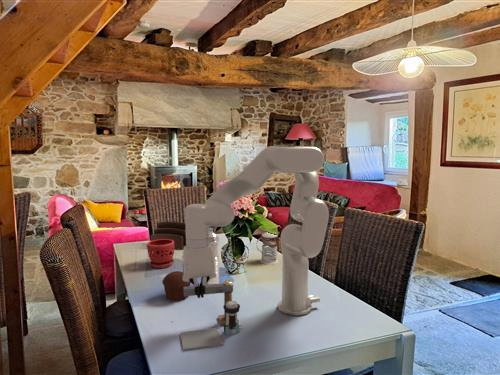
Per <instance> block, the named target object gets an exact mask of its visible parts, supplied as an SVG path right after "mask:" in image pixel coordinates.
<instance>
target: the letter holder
mask: <svg viewBox="0 0 500 375" xmlns="http://www.w3.org/2000/svg"><path fill="white" fill-rule="evenodd" d="M149 238H150V241H153V240H159V239H170V240H173V241H174V250H178V251H179V250H181V251H183V250H184V246H186V224H185V222H181V221H180V222H179V221H158V222H157V223H156V228H154V229H153V234H150V237H149ZM160 245H161V244H160Z"/></svg>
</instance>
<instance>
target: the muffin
mask: <svg viewBox="0 0 500 375" xmlns="http://www.w3.org/2000/svg"><path fill="white" fill-rule="evenodd" d="M183 274H184V273H183V271H178V270H176V271H172V272H169V273H168V274H166V275H165V277H164V278H163V279H162V285H163V287H164V293H165V298H166V301H167V300H168V301H169V302H182V301H185V300H187V299H188V298H189V296H184V287H187V286H191V284H192V283H191V282H186V281H183V279H182V278H183Z"/></svg>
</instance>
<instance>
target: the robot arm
mask: <svg viewBox="0 0 500 375" xmlns="http://www.w3.org/2000/svg"><path fill="white" fill-rule="evenodd" d="M324 163H325V156H324V153H323V151H322V150H321V149H320V148H318V147H316V146H304V145H295V146H277V145H272V146H271V145H270V146H267V147H265V148H264V149H262V150H261V151H260V152H259V153H258V154H257V155H256V156H255V157H254V158H253V159H252V160H251V161H250V162H249V163H248V165H246V167H244V169H243V170H242V171H241V172H240V173H239V174H237V175H236V176H233V177H232V178H231V179H230V180H228V181H227V182H225V183H224V184H222V185H221V186H220V187H219V188H217V190H216V191H214V192H213V193H212V194H211V196H210V197H209V198H208V199H207V200H206V201H205V203H192V204H188V205H187V206H186V207H185V209H184V215H185V216H184V217H185V218H184V219H185V222H184V223H185V224H186V246H184V249H183V250H182V251H183V252H182V272H183V273H184V274H183V278H182V279H183V281H186V282H191V283H190V284H192V286H195V295H194V296H197V299H200V298H202V299H203V298H204V297H205V296H204V294H205V285H206V283H207V282H208V281H209V280H210V279H212V278H215V277H216V274H215V262H214V254H213V249H212V245H211V244H210V243H211V242H213V241H214V237H210V236H209V228H210V227H226V226H228V225H230V224H232V222H233V221H234V219H235V216H236V215H235V210H234V208H233V207H232V206H231V205H232V204H234V203H235V202H236V201H237V200H238V199H240V198H243V197H246V196H250V195H253V194H255V193H257V192H259V191H260V190H261V188H262V187H263V186H264V185H265V184H266V183H267V182H268V181H269V180H270V179H271V177H273V175H275V173H284V174H294V179H295V182H294V188H293V192H292V193H293V194H292V199H291V202H290V203H291V204H290V208H289V213H290V216H291V218H292V219H293V220H295V221H297V222H299V223H302V225H300V224H298V223H297V224H296V223H291V224H288V225H286V226H285V227H284V228H283V229H282V230H281V234H280V248H281V253H282V254H281V256H282V258H281V259H282V264H281V265H282V268H281V270H282V273H281V274H282V276H281V278H282V279H281V300H280V301H279V302H278V303H277V309H278V311H280V312H281V313H283V314H285V315H289V316H303V315H308V314H309V313H310V312H311V311H312V309H313V308H312V304H313V303H320V302H321V300H320V298H321V297H319V296H315V297H314V295H313V294H312V295H309V293H308V292H309V265H310V264H309V259H312V258H314V257H317V256H318V255H319V254H320V252H322V248H323V245H324V241H325V238H326V232H327V229H328V228H327V227H328V222H329V218H330V212H329V211H330V210H329V208H328V206H327V203H325V201H323V200H321V199H319V198H318V192H319V187H320V186H319V185H320V181H319V180H320V179H319V174H318V172H317V171H319V170H320V169H321V168H322V167H323V165H324ZM199 278H200V282H198V279H199ZM199 285H200V286H199ZM205 295H206V294H205Z"/></svg>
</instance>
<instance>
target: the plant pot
mask: <svg viewBox="0 0 500 375" xmlns="http://www.w3.org/2000/svg"><path fill="white" fill-rule="evenodd" d="M160 244H161V245H160ZM146 250H147V253H148V258H149V260H150V262H149V265H150V266H151V267H152V268H155V269H164V268H168V267H171V266H172V265H173V264H174V262H175V260H174V255H175V249H174V241H173V240H170V239H159V240H153V241H151V240H150V241H148V242H147V243H146Z"/></svg>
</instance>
